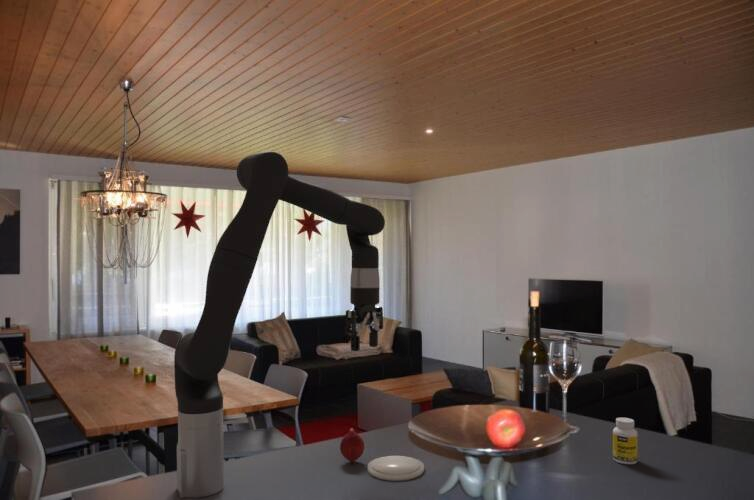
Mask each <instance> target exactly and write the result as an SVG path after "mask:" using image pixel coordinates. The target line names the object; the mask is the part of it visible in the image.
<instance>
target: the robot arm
mask: <svg viewBox="0 0 754 500" xmlns="http://www.w3.org/2000/svg"><path fill="white" fill-rule="evenodd" d="M236 178H237V180H238V183H239V184H240V186H241V187H242V188H243V189H244V190H246V192H245V195H244V198H243V201H242V203H241V205H240V208H239V209H238V211H237V213H236V214H235V216H234V217H233V218H232V220H231V221H230V222H229V224H228V225H227V227H226V228H225V229H224V231H223V233H222V234H221V236H220V238H219V240H218V241H217V243H216V246H215V249H214V252H213V254H212V258H211V260H210V264H209V266H208V270H207V277H206V286H205V298H204V306H203V310H202V314H201V316H200V319H199V321H198V324H197V326H196V329H195V330H194V331H191V332H189V333H187V334H185V335H184V336H182V337H181V338H180V339H179V340H178V342H177V345H176V346H175V349H174V357H173V358H174V360H173V363H174V367H173V368H174V390H175V396H176V401H177V433H178V434H177V436H178V437H177V440H178V441H177V443H176V488H177V491H178V493H179V497H180V498H181V499H184V498H195V499H196V498H205V497H208V496H209V497H210V496H213V495H215V494H217V493H219V492H221V491H222V490H223V489H224V488H225V487H224V486H225V484H224V483H225V480H224V479H225V474H224V473H225V472H224V470H225V469H224V468H225V466H224V465H225V464H224V395H223V392H222V390H221V388H220V384H219V374H220V372H221V371H222V370H223V369H224V367H225V365H226V362H227V359H228V356H229V352H230V346H231V341H232V337H233V334H234V328H235V325H236V320H237V319H238V314H239V313H240V309H241V306H242V304H243V302H244V298H245V296H246V294H247V293H246V292H247V290H248V287H249V284H250V281H251V279H252V276H253V274H254V271H255V269H256V265H257V262H258V258H259V256H260V255H259V254H260V253H261V249H262V245H263V243H264V240H265V237H266V234H267V231H268V227H269V225H270V222H271V219H272V217H273V214H274V212H275V210H276V207H277V206H278V203H279V201H282V202H285V203H287V204H291V205H293V206H296V207H297V208H301V209H303V210H305V211H307V212H310V213H311V214H314V215H316V216H318V217H320V218H322V219H324V220H327V221H330V222H332V223H333V224H336V225H340V226H345V228H346V229H345V230H346V234H347V238H348V243H349V247H350V251H351V269H350V270H351V271H350V272H351V273H350V287H349V288H350V290H349V291H350V295H349V296H350V297H349V298H350V299H349V300H350V304H351V305H353V306H354V307H353V309H346V310H345V321H344V323H345V324H344V325H345V326H344V327H345V328H344V333H345V334H346V335H349V336H350V350H351V351H352V352H359V351H360V350H361V346H360V345H361V342H360V341H361V337H360V334H361V332H362V330H364V328H365V327H368V330H369V333H368V335H369V337H368V338H369V339H368V341H369V342H368V343H369V345H368V346H369V347H371V348H377V347H378V345H379V332H380V330H383V329H384V316H383V315H384V313H383V312H384V309H383V307H382V306H376V305H379V303H380V290H381V288H380V287H381V286H380V272H379V270H380V269H379V265H380V263H379V261H380V257H379V249H378V247H377V246H376V245H372V244H371V240H370V236H376V235H378V234H381V233H382V231H383V230H384V228H385V225H386V220H385V217H384V215H383V213H382V212H381V211H380V210H379V209H377V208H376V207H374V206H371V205H369V204H365V203H362V202H359V201H356V200H352V199H349V198H347V197H346V196H344V195H341V194H340V193H337V192H335V191H334V190H331V189H329V188H326V187H324V186H320V185H317V184H314V183H310V182H307V181H303V180H301V179H297V178H295V177H293V176H290V175H289V164H288V163H287V160H286V158H285V157H284V156H283V155H282V154H281V153H279V152H276V151H262V152H261V151H260V152H258V153H252V154H249V155H247V156H245V157H244V158H242V159H241V160H240V161H239V163H238V165H237V167H236ZM350 327H351V328H350Z"/></svg>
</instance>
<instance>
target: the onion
mask: <svg viewBox="0 0 754 500" xmlns="http://www.w3.org/2000/svg"><path fill="white" fill-rule="evenodd" d="M339 450H340V453H341V455H342V456H343V457H344V459H346V460H347V461H349V462H350V463H355V462H356V461H357V460H358V459H360V458H361V456H362V455H363V454H364V451H365V442H364V439H363V437H362V436H361V435H360V434H358V433H357V432H356V431H355V428H353V427H352V428H350V429H349V431H348V433H346V434H345V435H344V436H343V437H342V439H341V441H340V445H339Z"/></svg>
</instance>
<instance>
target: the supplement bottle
mask: <svg viewBox="0 0 754 500" xmlns="http://www.w3.org/2000/svg"><path fill="white" fill-rule="evenodd" d="M615 425H616V426H615V427H614V428H613V430H612V458H613V460H614V461H615V462H616V463H620V464H622V465H635V464H637V462H638V458H639V457H638V449H639V448H638V446H639V445H638V437H639V436H638V431H637V430H636V429H635V420H634V419H632V418H629V417H616V418H615Z"/></svg>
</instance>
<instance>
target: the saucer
mask: <svg viewBox="0 0 754 500" xmlns="http://www.w3.org/2000/svg"><path fill="white" fill-rule="evenodd" d="M367 472H368V474H369V475H370V476H371V477H374V478H376V479H380V480H383V481H392V482H393V481H394V482H399V481H408V480H412V479H417V478H418V477H420V476H422V475H423V474H424V473H425V465H424V463H423V462H422V460H420V459H417V458H415V457H410V456H405V455H387V456H382V457H377V458H375V459H372V460H371V461H369V462H368V464H367Z"/></svg>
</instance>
